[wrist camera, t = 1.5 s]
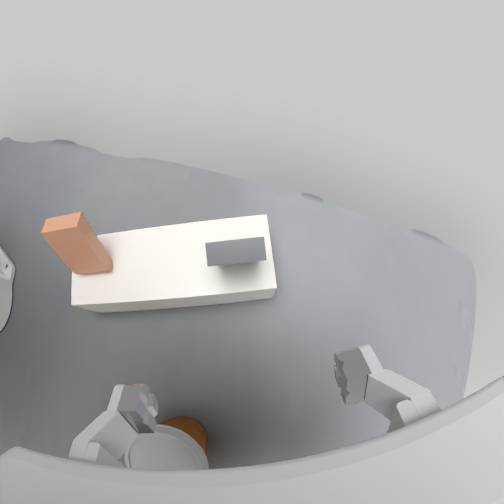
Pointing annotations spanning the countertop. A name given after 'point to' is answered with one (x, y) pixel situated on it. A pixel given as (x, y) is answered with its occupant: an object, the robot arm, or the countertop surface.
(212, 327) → the countertop surface
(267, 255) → the switch box
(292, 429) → the countertop surface
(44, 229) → the rocker terracotta
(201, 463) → the disposable coffee cup
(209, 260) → the rocker charcoal
